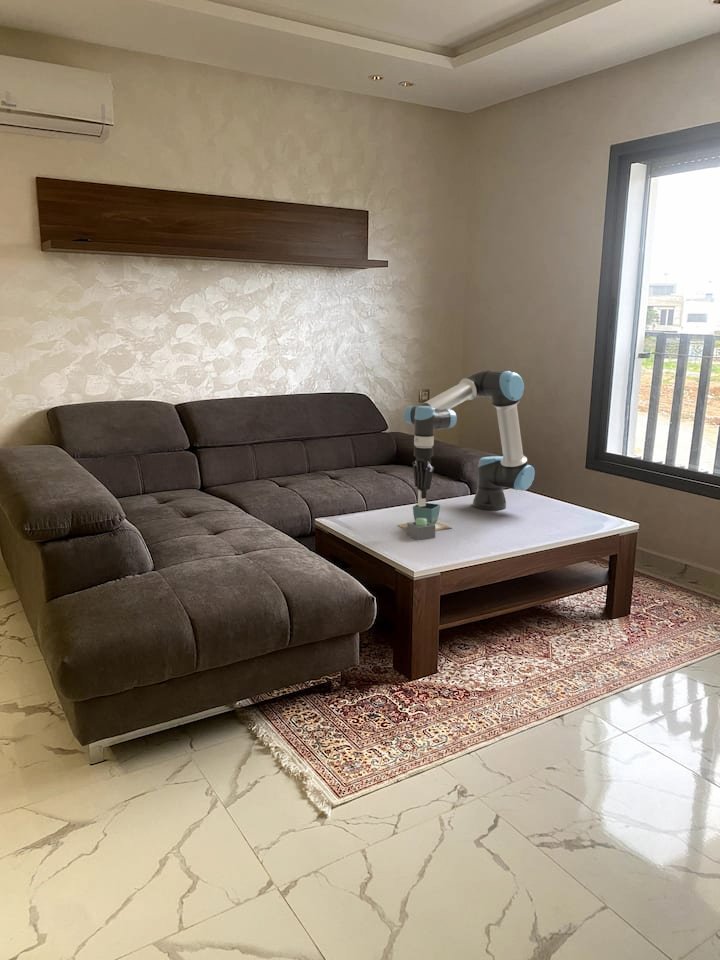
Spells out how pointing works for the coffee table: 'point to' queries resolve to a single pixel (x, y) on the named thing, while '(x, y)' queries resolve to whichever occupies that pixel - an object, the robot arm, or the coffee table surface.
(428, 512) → the flower pot
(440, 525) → the board
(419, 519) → the button
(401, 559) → the coffee table surface
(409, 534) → the button box
